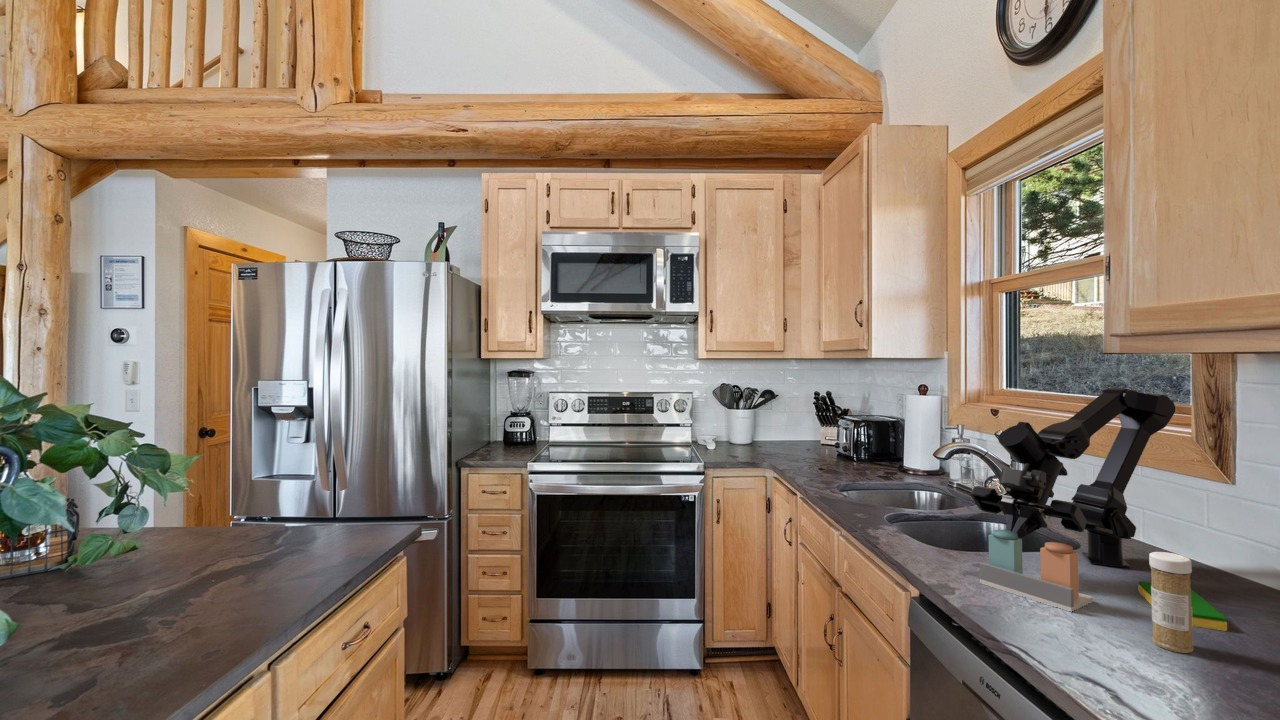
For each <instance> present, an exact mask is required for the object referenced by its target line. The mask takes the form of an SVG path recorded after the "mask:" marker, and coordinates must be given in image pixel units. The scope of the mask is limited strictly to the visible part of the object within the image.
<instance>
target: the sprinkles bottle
mask: <svg viewBox="0 0 1280 720" xmlns="http://www.w3.org/2000/svg"><path fill="white" fill-rule="evenodd" d="M1148 556H1149V557H1148V559H1149V566H1150V570H1151V571H1150V574H1151V576H1150V577H1151V583H1152V585H1151V599H1152V605H1151V620H1152V637H1151V641H1152V642H1153V644H1155V645H1156V646H1158V647H1160V648H1162V649H1166V650H1167V651H1171V652H1174V653H1182V654H1189V653H1193V652H1194V649H1195V648H1194V645H1193V627H1194V626H1193V619H1192V607H1191V589H1192V588H1191V575H1192V572H1193V568H1192V567H1193V566H1192V560H1191V559H1190V558H1189V557H1186V556H1184V555H1181V554H1178V553H1177V554H1176V553H1172V552H1167V551H1165V552H1164V551H1153V552H1150V553H1149V554H1148Z"/></svg>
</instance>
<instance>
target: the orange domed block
mask: <svg viewBox="0 0 1280 720" xmlns="http://www.w3.org/2000/svg"><path fill="white" fill-rule="evenodd" d="M1039 550H1040V552H1039V553H1040V554H1039V555H1040V579H1042V580H1045V581H1049V582H1052V583H1056V584H1059V585H1063V586H1066V587H1070V588H1073V589H1074V600H1076V599H1078V598H1079V593H1080V591H1079V553H1078V552H1077V551H1074V548H1073V546H1072V545H1069V544H1066V543H1062V542H1056V541H1055V542H1054V541H1048V542H1047V541H1046V542H1044V546H1042V547H1040V549H1039Z"/></svg>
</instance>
